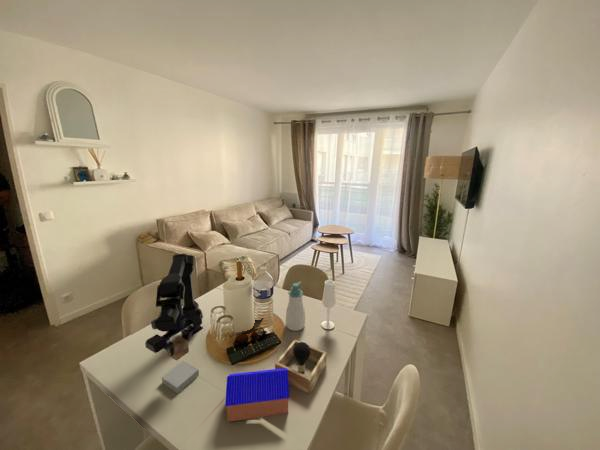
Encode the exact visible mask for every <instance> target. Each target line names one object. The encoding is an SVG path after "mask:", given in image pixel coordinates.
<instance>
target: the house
mask: <svg viewBox="0 0 600 450" xmlns="http://www.w3.org/2000/svg"><path fill="white" fill-rule="evenodd" d="M289 385H290V384H289V383H288V370H287V369H286V368H281V369H275V368H273V369H272V368H271V369H266V370H265V369H264V370H257V371H248V372H238V373H230V374H228V375H227V377H226V386H225V387H226V388H225V389H226V390H225V405H224V407H226V416H227V422H235V421H242V420H248V419H257V418H262V417H267V416H268V417H269V416H274V415H275V416H276V415H282V414H289V399H290V387H289Z"/></svg>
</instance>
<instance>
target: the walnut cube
mask: <svg viewBox="0 0 600 450" xmlns="http://www.w3.org/2000/svg"><path fill="white" fill-rule="evenodd" d="M170 342H172V343H173V356H172V357H171V356H170V355H169V353H168V352H167V356H168V357H169V358H171V359H173V360H174V361H179V360H180V359H181V358H182V357H184V356H186V354H188V353H190V351H189V341H188V340H186V339H184V338H182V336H180V335H178V336H177V337H175V338H174V339H172V340H170Z"/></svg>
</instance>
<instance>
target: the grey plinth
mask: <svg viewBox="0 0 600 450" xmlns="http://www.w3.org/2000/svg"><path fill="white" fill-rule="evenodd" d="M199 376H200V373H199V368H196V367H195V366H193V365H192V364H190V363H188V362H186V361H185V360H182V361H181V362H179V363H178V364H176V366H174V367H173V368H171V369H170V370H169V371H167V372H166V373H165V374H163V375H162V376H161V381H162V382H161V383H162V384H164V386H166V387H167V388H169V389H170V390H172V391H173V392H174V393H176V395H177V394H178V395H179V393H180V392H182V390H184V389H185V388H186V387H187V386H188V385H190V383H192V382H193V381H194V380H195V379H197V378H198V377H199Z"/></svg>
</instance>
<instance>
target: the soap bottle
mask: <svg viewBox="0 0 600 450" xmlns="http://www.w3.org/2000/svg"><path fill="white" fill-rule="evenodd" d="M302 283H303V282H302V281H298V282H295V283H292V287H291V288H290V290H289V291H288V293H287V294H288V304H287V307H286V310H285V325H286V328H288V330H290V331H293V332H294V331H296V332H297V331H300V330H302V329H304V328H305V326H306V325H305V324H306V312H305V307H304V302H303V295H304V291H303V290H302V289H301V287H300V285H301V284H302Z"/></svg>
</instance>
